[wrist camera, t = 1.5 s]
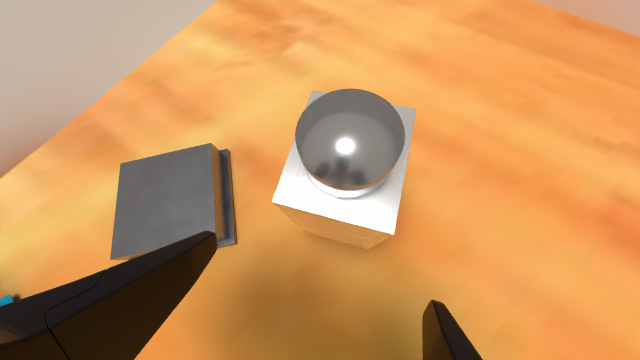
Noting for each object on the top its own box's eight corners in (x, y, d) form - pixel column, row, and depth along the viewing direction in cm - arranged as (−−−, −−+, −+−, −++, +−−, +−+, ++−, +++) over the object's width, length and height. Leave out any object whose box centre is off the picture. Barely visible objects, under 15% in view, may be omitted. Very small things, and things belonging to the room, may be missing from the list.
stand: (236, 243, 22) (221, 240, 19) (134, 266, 22) (103, 267, 19) (229, 151, 25) (215, 137, 23) (140, 171, 26) (116, 160, 23)
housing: (367, 249, 21) (405, 228, 9) (304, 231, 22) (258, 189, 10) (382, 178, 23) (429, 81, 11) (324, 164, 24) (307, 62, 12)
